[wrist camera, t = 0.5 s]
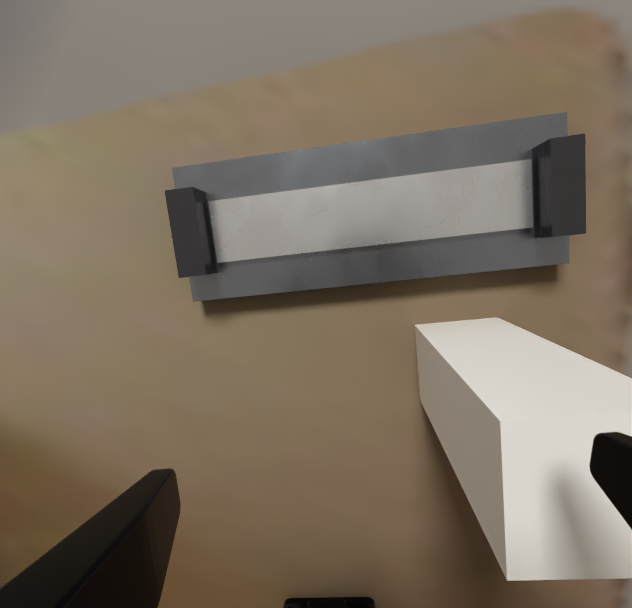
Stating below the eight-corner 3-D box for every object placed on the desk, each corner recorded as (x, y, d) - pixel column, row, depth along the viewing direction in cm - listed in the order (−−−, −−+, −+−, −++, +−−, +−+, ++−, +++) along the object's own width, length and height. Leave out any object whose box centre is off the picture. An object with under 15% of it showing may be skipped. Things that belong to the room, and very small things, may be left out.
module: (500, 397, 23) (692, 581, 10) (420, 402, 24) (507, 584, 11) (497, 317, 22) (698, 409, 10) (414, 325, 23) (500, 421, 10)
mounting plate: (556, 262, 22) (590, 264, 19) (201, 299, 24) (180, 306, 21) (554, 120, 20) (589, 98, 17) (181, 172, 23) (156, 160, 20)
